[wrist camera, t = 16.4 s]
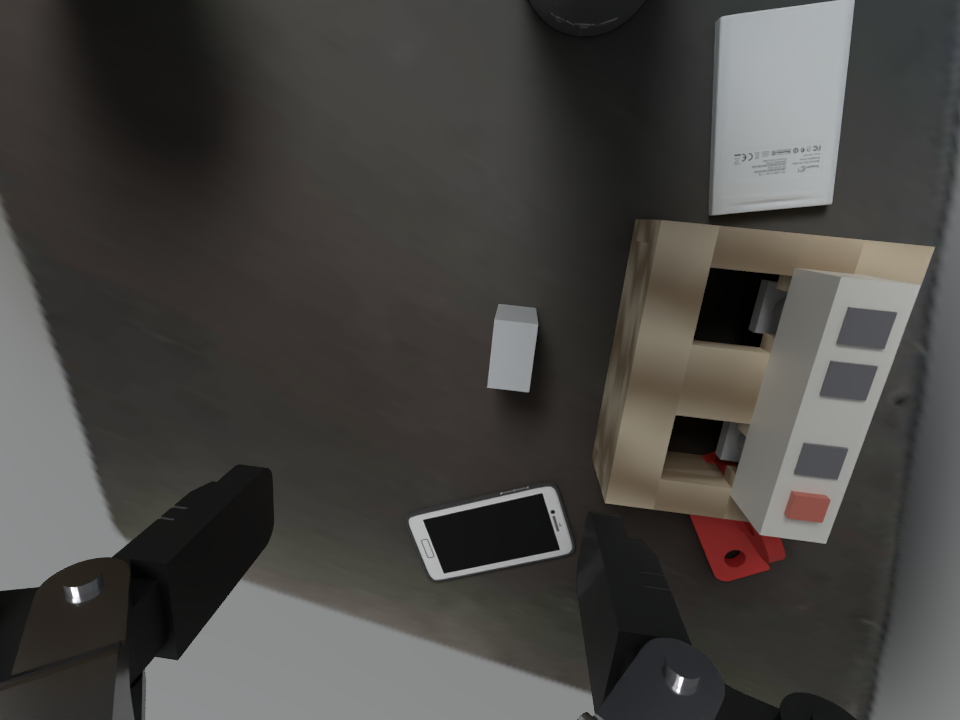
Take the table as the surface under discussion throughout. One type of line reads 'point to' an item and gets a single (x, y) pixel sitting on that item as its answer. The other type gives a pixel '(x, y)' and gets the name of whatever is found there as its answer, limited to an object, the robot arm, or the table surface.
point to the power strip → (814, 396)
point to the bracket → (734, 541)
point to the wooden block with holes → (701, 353)
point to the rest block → (513, 348)
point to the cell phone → (491, 532)
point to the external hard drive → (778, 106)
